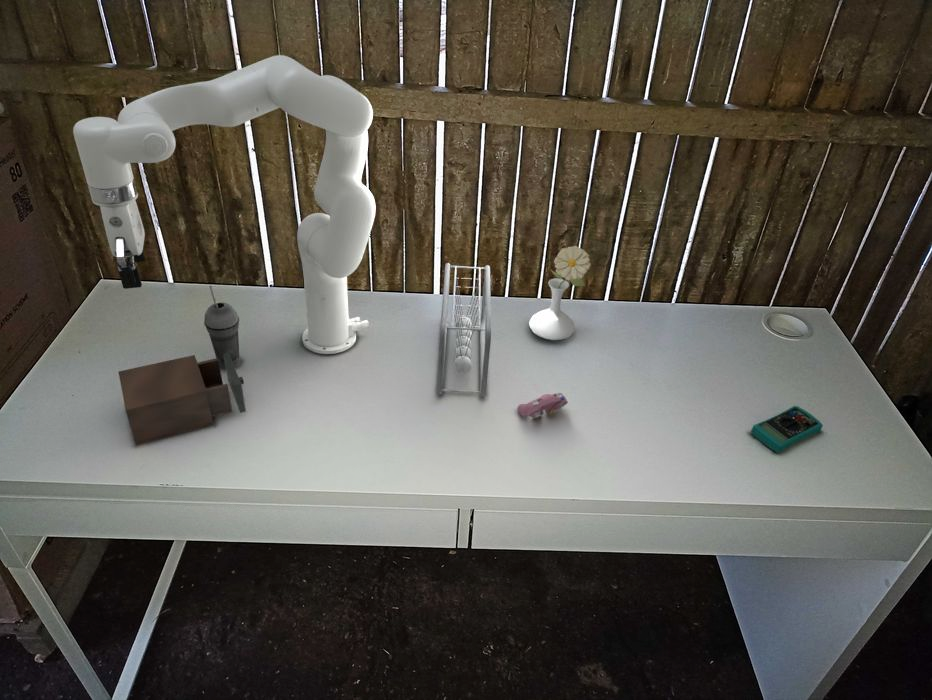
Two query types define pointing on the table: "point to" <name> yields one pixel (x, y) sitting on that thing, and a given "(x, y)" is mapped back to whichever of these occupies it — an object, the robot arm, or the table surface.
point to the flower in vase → (553, 319)
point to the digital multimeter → (786, 428)
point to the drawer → (221, 385)
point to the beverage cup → (223, 330)
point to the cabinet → (165, 399)
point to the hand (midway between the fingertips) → (135, 274)
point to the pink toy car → (542, 405)
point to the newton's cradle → (466, 330)
